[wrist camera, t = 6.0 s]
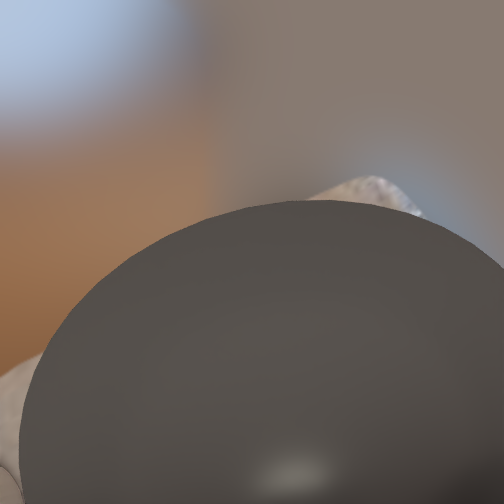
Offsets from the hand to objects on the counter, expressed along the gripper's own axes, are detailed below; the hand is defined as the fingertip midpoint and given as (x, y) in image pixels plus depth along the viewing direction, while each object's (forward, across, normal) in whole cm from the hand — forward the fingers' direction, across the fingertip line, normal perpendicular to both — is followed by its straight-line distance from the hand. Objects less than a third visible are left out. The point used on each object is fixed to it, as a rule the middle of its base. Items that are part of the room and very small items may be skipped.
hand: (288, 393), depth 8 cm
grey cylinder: (+4, 0, +6) cm, 7 cm away
